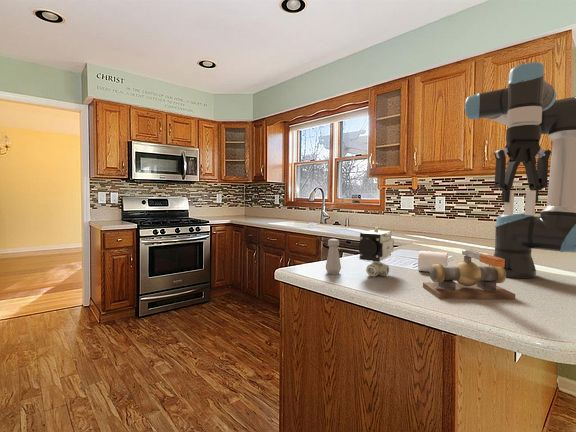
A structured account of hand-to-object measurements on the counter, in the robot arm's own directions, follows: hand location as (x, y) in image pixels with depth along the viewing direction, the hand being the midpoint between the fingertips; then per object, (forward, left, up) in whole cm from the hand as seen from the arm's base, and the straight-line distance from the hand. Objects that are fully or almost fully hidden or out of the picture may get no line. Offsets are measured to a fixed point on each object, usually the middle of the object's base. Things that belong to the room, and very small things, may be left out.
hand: (519, 214), depth 91 cm
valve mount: (+7, -12, -25) cm, 28 cm away
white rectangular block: (+5, -42, -25) cm, 49 cm away
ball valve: (+29, -34, -25) cm, 51 cm away
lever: (+7, -5, -13) cm, 16 cm away
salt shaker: (+45, -36, -25) cm, 63 cm away
